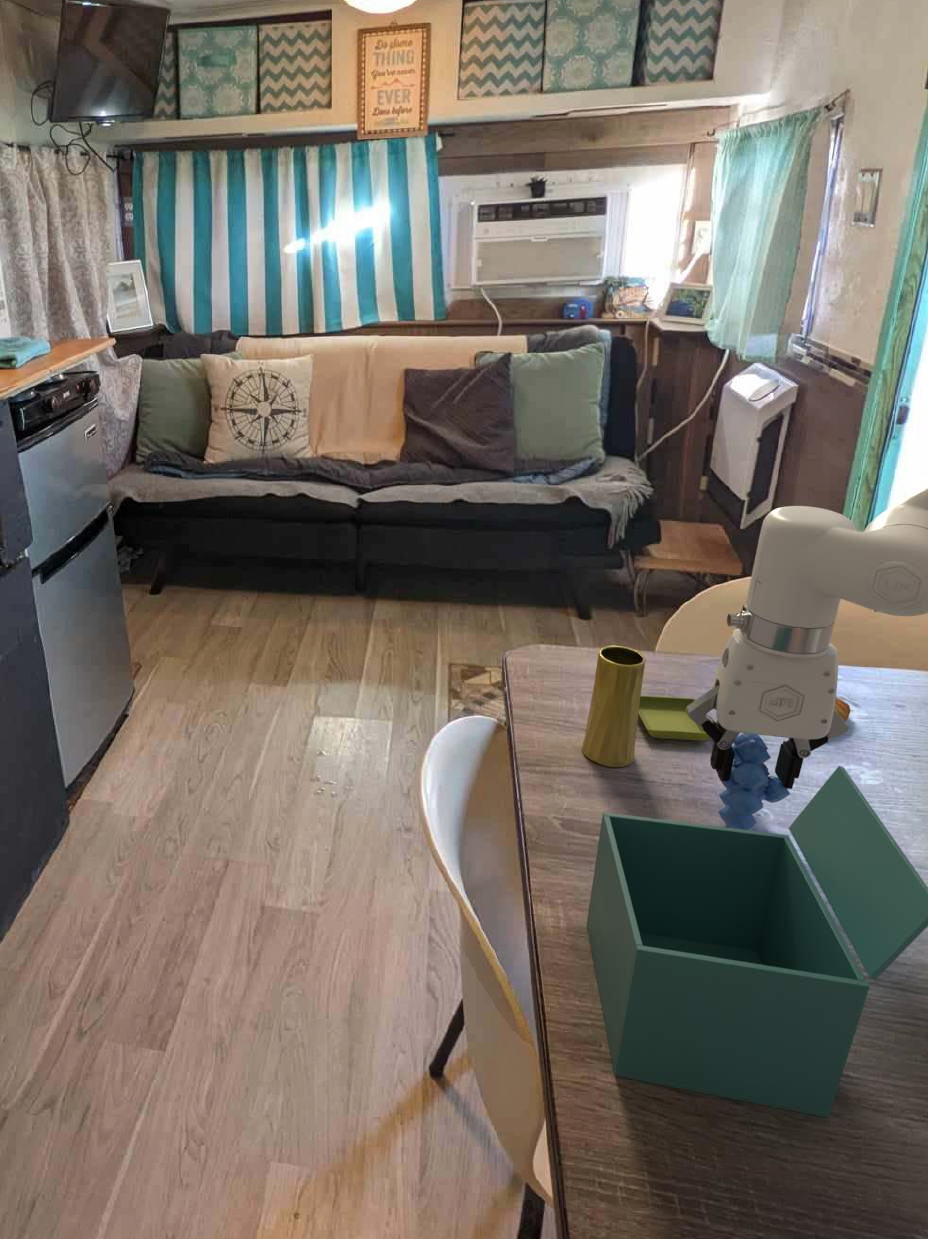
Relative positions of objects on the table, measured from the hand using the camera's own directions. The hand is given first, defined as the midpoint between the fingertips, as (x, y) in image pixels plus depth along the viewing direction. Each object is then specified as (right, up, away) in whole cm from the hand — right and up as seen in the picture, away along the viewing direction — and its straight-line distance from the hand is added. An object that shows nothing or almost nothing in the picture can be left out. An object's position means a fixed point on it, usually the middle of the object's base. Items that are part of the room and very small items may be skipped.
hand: (751, 775), depth 91 cm
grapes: (0, -7, +2) cm, 7 cm away
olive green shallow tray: (+3, +1, +21) cm, 21 cm away
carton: (-17, -15, -18) cm, 29 cm away
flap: (-9, +1, -27) cm, 28 cm away
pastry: (+21, +1, +21) cm, 30 cm away
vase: (-8, -2, +16) cm, 18 cm away
